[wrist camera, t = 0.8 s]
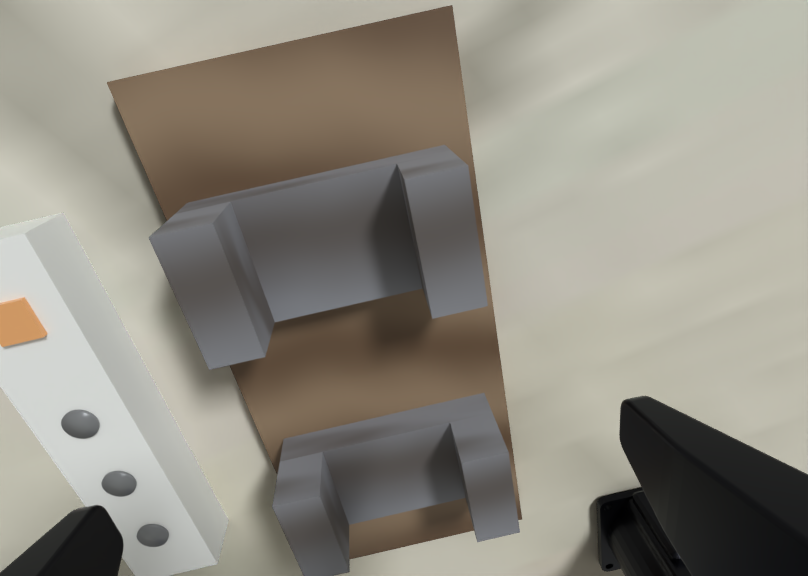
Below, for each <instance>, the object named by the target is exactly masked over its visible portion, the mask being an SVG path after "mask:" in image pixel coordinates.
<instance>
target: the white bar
mask: <svg viewBox="0 0 808 576" xmlns="http://www.w3.org/2000/svg"><path fill="white" fill-rule="evenodd" d="M0 387H1V388H2V390H3V391H4V393H5V394H6V395H7V397H8V398H9V400H10V401H11V402H12V404H13V405H14V407H15V408H16V409H17V411H18V412H19V414H20V415H21V416H22V418H23V419H24V421H25V422H26V423H27V425H28V426H29V428H30V429H31V430H32V432H33V433H34V435H35V436H36V437H37V439H38V440H39V442H40V443H41V444H42V446H43V447H44V449H45V450H46V451H47V453H48V454H49V456H50V457H51V459H52V460H53V461H54V463H55V464H56V466H57V467H58V468H59V470H60V471H61V473H62V474H63V475H64V477H65V478H66V480H67V481H68V482H69V484H70V485H71V487H72V488H73V489H74V491H75V492H76V494H77V495H78V496H79V498H80V499H81V501H82V502H83V503H84V505H85V506H86V507H88V506H93V505H101V506H103V507H104V508H105V509H106V510H107V512H108V514H109V515H110V517H111V518H112V520H113V522H114V523H115V525H116V527H117V528H118V530H119V531H120V533H121V535H122V538H123V544H124V546H123V554H122V558H123V560H124V561H125V562H126V564H127V565H128V567H129V568H130V569H131V571H132V572H133V574H134V575H135V576H170V575H174V574H178V573H183V572H187V571H191V570H195V569H199V568H203V567H207V566H211V565H215V564H218V561H219V557H220V553H221V549H222V545H223V541H224V537H225V533H226V529H227V525H228V521H229V519H228V517H227V515H226V513H225V512H224V510H223V508H222V506H221V504H220V502H219V500H218V499H217V497H216V495H215V493H214V491H213V489H212V487H211V486H210V484H209V482H208V480H207V478H206V476H205V474H204V472H203V471H202V469H201V467H200V465H199V463H198V461H197V459H196V458H195V456H194V454H193V452H192V450H191V448H190V446H189V445H188V443H187V441H186V439H185V437H184V435H183V433H182V431H181V430H180V428H179V426H178V424H177V422H176V420H175V418H174V417H173V415H172V413H171V411H170V409H169V407H168V405H167V404H166V402H165V400H164V398H163V396H162V394H161V392H160V390H159V389H158V387H157V385H156V383H155V381H154V379H153V377H152V376H151V374H150V372H149V370H148V368H147V366H146V364H145V363H144V361H143V359H142V357H141V355H140V353H139V351H138V349H137V348H136V346H135V344H134V342H133V340H132V338H131V336H130V335H129V333H128V331H127V329H126V327H125V325H124V323H123V322H122V320H121V318H120V316H119V314H118V312H117V310H116V309H115V307H114V305H113V303H112V301H111V299H110V297H109V295H108V294H107V292H106V290H105V288H104V286H103V284H102V282H101V281H100V279H99V277H98V275H97V273H96V271H95V269H94V268H93V266H92V264H91V262H90V260H89V258H88V256H87V254H86V253H85V251H84V249H83V247H82V245H81V243H80V241H79V240H78V238H77V236H76V234H75V232H74V230H73V228H72V227H71V225H70V223H69V221H68V219H67V217H66V215H65V213H64V212H63V213H58V214H54V215H50V216H45V217H41V218H37V219H33V220H28V221H24V222H20V223H16V224H11V225H7V226H3V227H0Z"/></svg>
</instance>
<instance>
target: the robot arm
mask: <svg viewBox="0 0 808 576" xmlns="http://www.w3.org/2000/svg"><path fill="white" fill-rule="evenodd" d="M620 442H621V445H622V448H623V450H624V452H625V454H626V456H627V458H628V460H629V462H630V464H631V466H632V468H633V470H634V472H635V474H636V476H637V478H638V480H639V482H640V484H641V486H642V488H639V489H634V490H630V491H626V492H621V493H617V494H613V495H608V496H604V497H602V498H600V499H599V500H598V501H597V522H598V550H599V564H600V566H601V568H602V570H603V571H613V570H617V569H622V571H623V573H624V575H625V576H808V474H806V473H804V472H802V471H800V470H798V469H796V468H794V467H792V466H789V465H787V464H785V463H783V462H781V461H779V460H777V459H775V458H773V457H771V456H769V455H767V454H765V453H763V452H761V451H759V450H757V449H755V448H753V447H751V446H749V445H747V444H745V443H743V442H741V441H739V440H737V439H734V438H732V437H730V436H728V435H726V434H724V433H722V432H720V431H718V430H716V429H714V428H712V427H710V426H708V425H706V424H704V423H702V422H700V421H698V420H696V419H694V418H692V417H690V416H688V415H686V414H684V413H681V412H679V411H677V410H675V409H673V408H671V407H669V406H667V405H665V404H663V403H661V402H659V401H657V400H655V399H653V398H651V397H648V396H640V397H635V398H630V399H626V400H624V401H623V402H622V404H621V412H620ZM123 546H124V544H123V538H122V535H121V533H120V531H119V530H118V528H117V527H116V525H115V523H114V522H113V520H112V518H111V517H110V515H109V514H108V512H107V510H106V509H105V508H104V507H103V506H101V505H93V506H88V507H83V508H78V509H76V510H73V511H72V512H70V513H69V514H68V515H67V516H66V517H64V518H63V519H62V520H61V521H60V522H59V523H57V524H56V525H55V526H54V527H53V528H52V529H50V530H49V531H48V532H47V533H46V534H45V535H43V536H42V537H41V538H40V539H39V540H38V541H36V542H35V543H34V544H33V545H32V546H31V547H30V548H28V549H27V550H26V551H25V552H24V553H23V554H21V555H20V556H19V557H18V558H17V559H16V560H14V561H13V562H12V563H11V564H10V565H9V566H7V567H6V568H5V569H4V570H3V571H2V572H0V576H117V575H118V571H119V567H120V563H121V558H122V554H123Z"/></svg>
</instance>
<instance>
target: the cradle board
mask: <svg viewBox="0 0 808 576" xmlns="http://www.w3.org/2000/svg"><path fill="white" fill-rule="evenodd" d="M107 84H108V87H109V89H110V91H111V93H112V96H113V98H114V100H115V103H116V105H117V107H118V110H119V112H120V114H121V116H122V119H123V121H124V123H125V126H126V128H127V130H128V133H129V135H130V137H131V140H132V142H133V144H134V146H135V149H136V151H137V153H138V156H139V158H140V160H141V163H142V165H143V167H144V169H145V172H146V174H147V176H148V179H149V181H150V183H151V186H152V188H153V190H154V192H155V195H156V197H157V199H158V202H159V204H160V206H161V209H162V211H163V213H164V215H165V218H166V220H167V221H166V222H165V223H164V224H163V225H162V226H161V227H160V228H159V229H158V230H156V231H155V232H154V233H153V234H152V235H151V236H150V237H149V240H150V242H151V244H152V246H153V248H154V251H155V253H156V255H157V257H158V259H159V261H160V264H161V266H162V268H163V270H164V272H165V274H166V277H167V279H168V281H169V283H170V285H171V288H172V290H173V292H174V294H175V296H176V298H177V301H178V303H179V305H180V307H181V309H182V312H183V314H184V316H185V318H186V320H187V322H188V325H189V327H190V329H191V331H192V333H193V335H194V338H195V340H196V342H197V344H198V346H199V349H200V351H201V353H202V355H203V357H204V359H205V362H206V364H207V366H208V368H209V370H211V369H215V368H219V367H224V366H228V365H230V367H231V370H232V372H233V374H234V377H235V379H236V381H237V383H238V386H239V388H240V390H241V393H242V395H243V397H244V400H245V402H246V404H247V406H248V409H249V411H250V413H251V416H252V418H253V420H254V423H255V425H256V427H257V430H258V432H259V434H260V436H261V439H262V441H263V443H264V446H265V448H266V450H267V453H268V455H269V457H270V459H271V462H272V464H273V466H274V469H275V471H276V473H277V481H276V487H275V493H274V499H273V505H272V508H273V510H274V512H275V514H276V516H277V518H278V521H279V523H280V525H281V527H282V529H283V531H284V534H285V536H286V538H287V540H288V542H289V545H290V547H291V549H292V551H293V553H294V555H295V558H296V560H297V562H298V564H299V566H300V569H301V571H302V573H303V575H304V576H334V575H338V574H342V573H347V572H349V559H353V558H357V557H362V556H366V555H370V554H375V553H379V552H383V551H388V550H392V549H396V548H400V547H405V546H409V545H413V544H418V543H422V542H426V541H431V540H435V539H439V538H444V537H448V536H452V535H456V534H461V533H465V532H469V531H475V535H476V539H477V542H480V541H484V540H489V539H493V538H497V537H502V536H506V535H510V534H514V533H519V532H520V529H519V522H518V520H521V519H522V515H521V508H520V501H519V493H518V486H517V479H516V471H515V464H514V456H513V449H512V442H511V434H510V427H509V420H508V412H507V405H506V398H505V390H504V383H503V375H502V368H501V361H500V353H499V346H498V339H497V331H496V324H495V317H494V309H493V302H492V295H491V287H490V280H489V272H488V265H487V258H486V250H485V243H484V236H483V228H482V221H481V214H480V206H479V199H478V191H477V184H476V177H475V169H474V162H473V155H472V147H471V140H470V133H469V125H468V118H467V110H466V103H465V96H464V88H463V81H462V74H461V66H460V59H459V52H458V44H457V37H456V30H455V22H454V15H453V7H452V5H451V6H446V7H442V8H437V9H433V10H429V11H424V12H420V13H415V14H411V15H406V16H402V17H397V18H393V19H388V20H384V21H379V22H375V23H370V24H366V25H361V26H357V27H352V28H348V29H343V30H339V31H334V32H330V33H325V34H321V35H316V36H312V37H308V38H303V39H299V40H294V41H290V42H285V43H281V44H276V45H272V46H267V47H263V48H258V49H254V50H249V51H245V52H240V53H236V54H231V55H227V56H222V57H218V58H213V59H209V60H204V61H200V62H195V63H191V64H186V65H182V66H178V67H173V68H169V69H164V70H160V71H155V72H151V73H146V74H142V75H137V76H133V77H128V78H124V79H119V80H115V81H110V82H107Z"/></svg>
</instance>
